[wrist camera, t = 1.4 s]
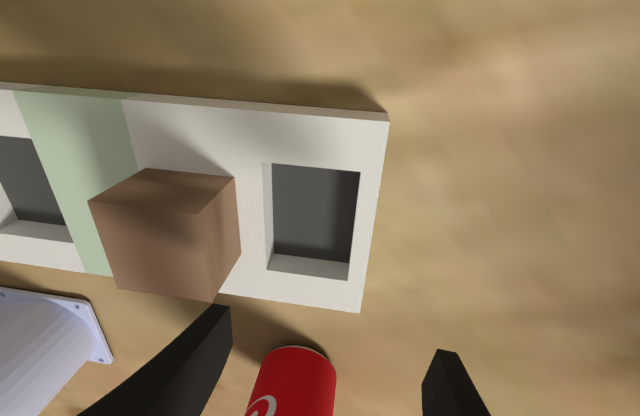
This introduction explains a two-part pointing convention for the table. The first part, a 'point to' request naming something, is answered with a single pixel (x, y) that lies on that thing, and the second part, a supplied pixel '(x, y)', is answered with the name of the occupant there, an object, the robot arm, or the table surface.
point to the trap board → (205, 158)
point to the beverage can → (293, 384)
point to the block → (169, 232)
